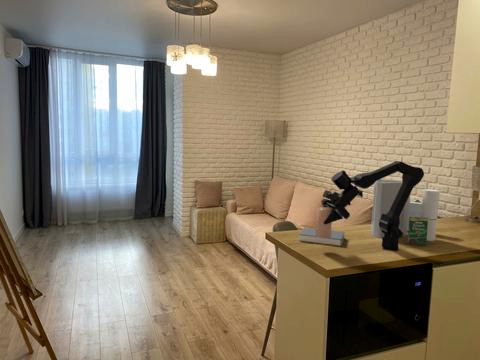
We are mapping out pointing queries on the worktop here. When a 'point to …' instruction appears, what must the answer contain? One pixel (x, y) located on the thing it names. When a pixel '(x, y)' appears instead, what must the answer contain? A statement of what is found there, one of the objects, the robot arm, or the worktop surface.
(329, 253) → the worktop surface
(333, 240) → the book
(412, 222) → the coffee box
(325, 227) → the pink cylinder
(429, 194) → the cylindrical container
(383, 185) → the tall white carton
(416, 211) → the skincare box
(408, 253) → the worktop surface
